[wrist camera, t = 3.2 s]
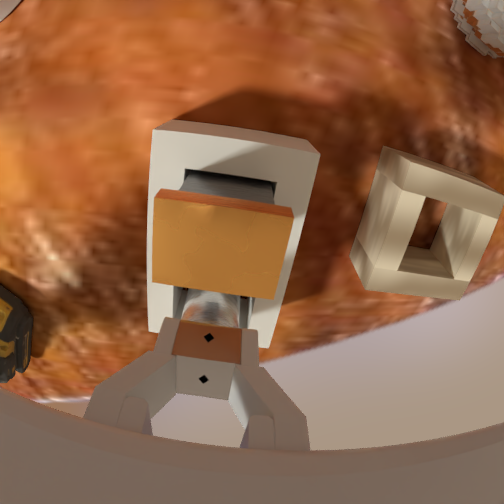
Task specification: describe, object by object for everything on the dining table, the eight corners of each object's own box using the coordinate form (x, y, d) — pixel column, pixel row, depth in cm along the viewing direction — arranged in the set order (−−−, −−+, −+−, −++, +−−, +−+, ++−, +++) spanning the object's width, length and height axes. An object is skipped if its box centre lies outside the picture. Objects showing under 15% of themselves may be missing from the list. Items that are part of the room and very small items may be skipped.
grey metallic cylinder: (197, 243, 27) (168, 349, 17) (244, 250, 27) (241, 360, 17) (193, 282, 29) (169, 391, 19) (237, 289, 29) (232, 400, 19)
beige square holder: (383, 145, 23) (410, 161, 18) (473, 176, 24) (506, 197, 19) (348, 255, 28) (365, 289, 23) (436, 269, 28) (459, 300, 24)
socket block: (172, 119, 22) (152, 129, 18) (307, 139, 23) (320, 154, 18) (161, 295, 30) (148, 331, 25) (266, 310, 31) (268, 348, 26)
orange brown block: (185, 157, 19) (153, 197, 13) (280, 172, 20) (294, 218, 14) (179, 220, 22) (152, 282, 15) (267, 233, 22) (273, 299, 16)
